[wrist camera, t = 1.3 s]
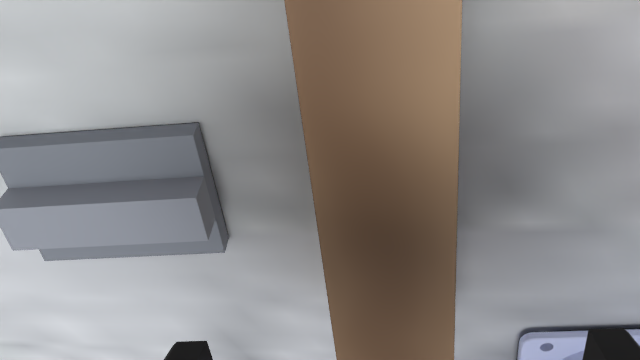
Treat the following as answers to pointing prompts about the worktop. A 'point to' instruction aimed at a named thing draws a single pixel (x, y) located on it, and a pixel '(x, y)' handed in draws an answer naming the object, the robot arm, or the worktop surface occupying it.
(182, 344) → the robot arm
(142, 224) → the fulcrum
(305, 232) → the worktop surface
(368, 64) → the batten
